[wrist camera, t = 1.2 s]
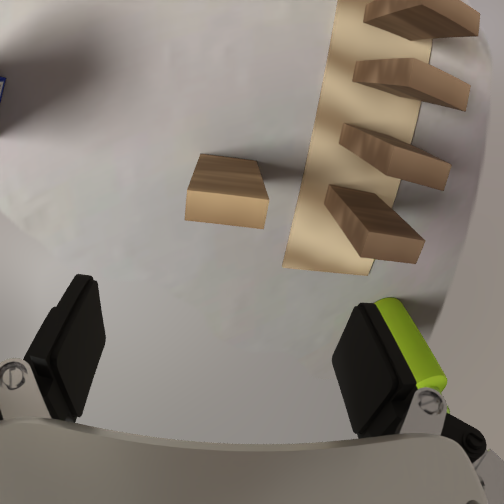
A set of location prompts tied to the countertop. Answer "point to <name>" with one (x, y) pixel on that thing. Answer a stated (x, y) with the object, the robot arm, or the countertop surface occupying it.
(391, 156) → the domino
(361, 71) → the domino
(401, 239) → the domino
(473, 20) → the domino
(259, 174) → the domino
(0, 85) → the milk carton
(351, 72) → the runner
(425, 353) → the soap dispenser
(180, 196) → the countertop surface
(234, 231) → the countertop surface
